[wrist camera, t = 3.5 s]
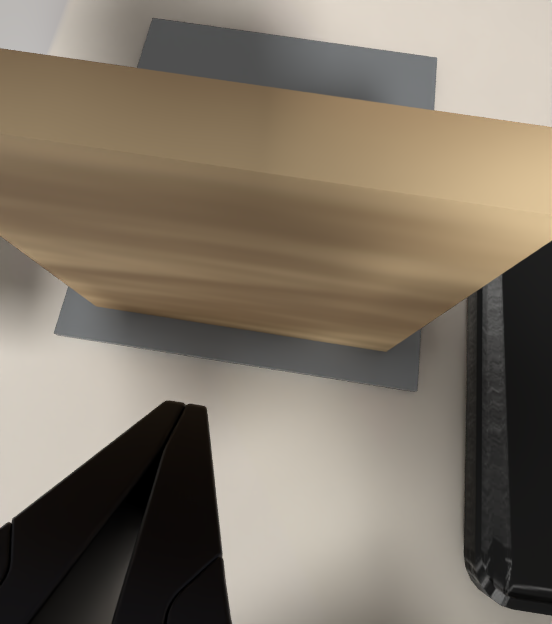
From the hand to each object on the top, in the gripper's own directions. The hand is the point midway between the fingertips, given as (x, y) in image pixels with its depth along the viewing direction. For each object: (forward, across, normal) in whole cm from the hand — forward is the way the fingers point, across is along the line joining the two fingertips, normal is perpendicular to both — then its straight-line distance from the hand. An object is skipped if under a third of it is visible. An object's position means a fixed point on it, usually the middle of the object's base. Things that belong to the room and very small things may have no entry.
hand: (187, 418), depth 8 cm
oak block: (+8, 0, +2) cm, 8 cm away
